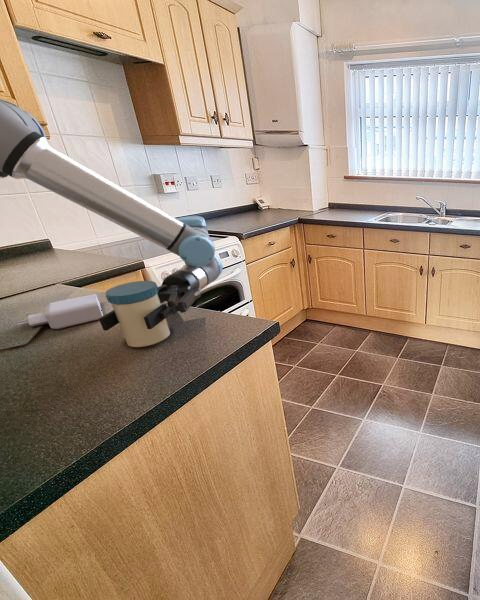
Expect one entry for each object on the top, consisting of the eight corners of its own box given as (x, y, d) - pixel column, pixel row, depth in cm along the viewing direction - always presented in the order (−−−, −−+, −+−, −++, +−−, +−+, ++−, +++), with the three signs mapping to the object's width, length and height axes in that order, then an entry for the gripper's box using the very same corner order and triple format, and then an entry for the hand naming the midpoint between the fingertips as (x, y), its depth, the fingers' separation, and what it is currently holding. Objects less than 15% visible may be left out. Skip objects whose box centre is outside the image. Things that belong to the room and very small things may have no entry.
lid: (103, 307, 66) (100, 299, 65) (112, 292, 73) (109, 285, 72) (156, 298, 69) (154, 290, 69) (160, 285, 76) (158, 278, 76)
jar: (124, 350, 70) (104, 300, 65) (130, 334, 77) (112, 287, 72) (169, 341, 74) (153, 292, 69) (171, 326, 80) (156, 280, 75)
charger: (23, 325, 83) (101, 308, 92) (20, 340, 77) (104, 319, 86) (14, 308, 81) (95, 292, 90) (10, 321, 75) (97, 302, 84)
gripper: (228, 295, 91) (182, 338, 70) (148, 297, 90) (79, 341, 69) (221, 269, 88) (172, 305, 67) (139, 271, 87) (64, 308, 66)
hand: (125, 323), depth 68 cm, fingers closed on jar, 8 cm apart
